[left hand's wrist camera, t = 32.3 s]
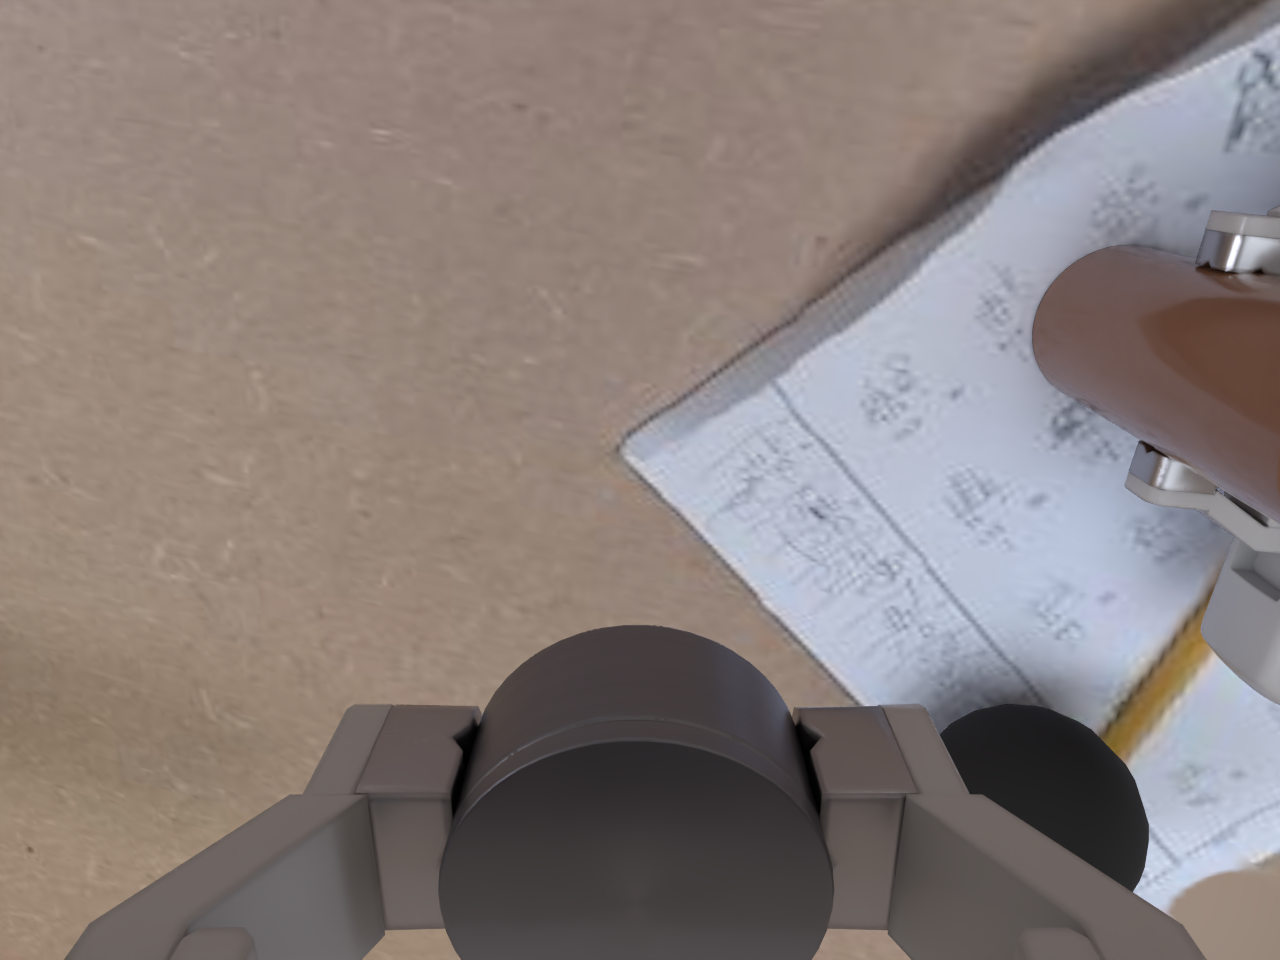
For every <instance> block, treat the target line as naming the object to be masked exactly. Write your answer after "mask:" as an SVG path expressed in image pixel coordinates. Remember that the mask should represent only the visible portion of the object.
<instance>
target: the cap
mask: <svg viewBox="0 0 1280 960" xmlns="http://www.w3.org/2000/svg"><path fill="white" fill-rule="evenodd" d="M438 894H439V903H440V911H441V915H442V918H443V922H444V925H445V929H446V932H447V934H448V936H449V938H450V941H451V943H452V945H453V947H454V949H455V951H456V952H457V954H458V955H459V957H460V958H461V960H812V958H813V957H814V955H815V953H816V952H817V950H818V949H819V947H820V944H821V942H822V940H823V938H824V935H825V933H826V931H827V928H828V924H829V920H830V916H831V913H832V909H833V898H834V879H833V868H832V864H831V860H830V856H829V852H828V849H827V845H826V841H825V837H824V833H823V830H822V826H821V822H820V818H819V814H818V810H817V807H816V803H815V799H814V795H813V791H812V787H811V784H810V780H809V776H808V772H807V768H806V765H805V761H804V757H803V753H802V749H801V746H800V742H799V738H798V734H797V730H796V726H795V723H794V721H793V718H792V716H791V714H790V712H789V709H788V707H787V705H786V704H785V702H784V701H783V699H782V697H781V696H780V694H779V693H778V691H777V690H776V689H775V687H774V686H773V685H772V684H771V683H770V682H769V680H768V679H767V678H766V677H765V676H764V675H763V674H762V673H761V672H760V671H759V670H758V669H756V668H755V667H754V666H753V665H752V664H751V663H750V662H748V661H747V660H745V659H744V658H742V657H741V656H739V655H738V654H736V653H735V652H733V651H732V650H730V649H729V648H727V647H725V646H723V645H721V644H719V643H717V642H715V641H713V640H710V639H708V638H705V637H702V636H699V635H696V634H694V633H691V632H686V631H682V630H678V629H673V628H669V627H662V626H655V625H654V626H651V625H622V626H614V627H605V628H600V629H594V630H591V631H587V632H583V633H580V634H577V635H574V636H571V637H569V638H566V639H563V640H561V641H559V642H557V643H555V644H553V645H551V646H549V647H547V648H545V649H543V650H541V651H540V652H538V653H537V654H535V655H534V656H533V657H531V658H529V659H528V660H527V661H525V662H524V663H523V664H521V665H520V666H519V667H518V668H517V669H516V670H515V671H514V672H513V673H512V674H511V675H509V676H508V677H507V678H506V680H505V681H504V682H503V683H502V685H501V686H500V687H499V688H498V689H497V691H496V692H495V693H494V695H493V697H492V698H491V700H490V702H489V703H488V705H487V707H486V708H485V710H484V713H483V715H482V718H481V720H480V723H479V725H478V729H477V732H476V736H475V740H474V743H473V747H472V750H471V754H470V758H469V761H468V765H467V769H466V772H465V776H464V780H463V783H462V787H461V791H460V794H459V798H458V802H457V805H456V809H455V813H454V816H453V820H452V824H451V828H450V832H449V835H448V838H447V842H446V846H445V849H444V853H443V857H442V862H441V866H440V870H439V885H438Z"/></svg>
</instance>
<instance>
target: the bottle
mask: <svg viewBox="0 0 1280 960" xmlns="http://www.w3.org/2000/svg"><path fill="white" fill-rule="evenodd" d="M1195 262H1196V258H1192V257H1187V256H1183V255H1178V254H1174V253H1170V252H1165V251H1161V250H1156V249H1152V248H1147V247H1143V246H1136V245H1118V246H1112V247H1107V248H1104V249H1100V250H1097V251H1095V252H1093V253H1090V254H1088V255H1086V256H1085V257H1083V258H1081V259H1079V260H1078V261H1076V262H1075V263H1073V264H1072V265H1071V266H1069V267H1068V268H1067V269H1066V270H1065V271H1064V272H1063V273H1062V274H1060V275H1059V277H1058V278H1057V279H1056V280H1055V281H1054V282H1053V283H1052V285H1051V286H1050V288H1049V289H1048V291H1047V292H1046V293H1045V295H1044V297H1043V299H1042V301H1041V303H1040V305H1039V308H1038V311H1037V313H1036V317H1035V321H1034V327H1033V349H1034V354H1035V358H1036V361H1037V364H1038V366H1039V368H1040V370H1041V372H1042V373H1043V375H1044V376H1045V378H1046V379H1047V380H1048V381H1049V382H1050V383H1051V384H1052V385H1053V386H1054V387H1055V388H1057V389H1058V390H1059V391H1061V392H1062V393H1064V394H1066V395H1067V396H1069V397H1071V398H1072V399H1074V400H1076V401H1077V402H1079V403H1080V404H1082V405H1084V406H1085V407H1087V408H1089V409H1090V410H1092V411H1094V412H1095V413H1097V414H1099V415H1100V416H1102V417H1103V418H1105V419H1107V420H1108V421H1110V422H1112V423H1113V424H1115V425H1117V426H1118V427H1120V428H1122V429H1123V430H1125V431H1127V432H1128V433H1130V434H1131V435H1133V436H1135V437H1136V438H1138V439H1140V440H1141V441H1143V442H1145V443H1146V444H1148V445H1150V446H1151V447H1153V448H1155V449H1156V450H1158V451H1159V452H1161V453H1163V454H1164V455H1166V456H1168V457H1169V458H1171V459H1173V460H1174V461H1176V462H1178V463H1179V464H1181V465H1183V466H1184V467H1186V468H1187V469H1189V470H1191V471H1192V472H1194V473H1196V474H1197V475H1199V476H1201V477H1202V478H1204V479H1206V480H1207V481H1209V482H1211V483H1212V484H1214V485H1215V486H1217V487H1219V488H1220V489H1222V490H1224V491H1225V492H1227V493H1229V494H1230V495H1232V496H1234V497H1235V498H1237V499H1239V500H1240V501H1242V502H1243V503H1245V504H1247V505H1248V506H1250V507H1252V508H1253V509H1255V510H1257V511H1258V512H1260V513H1262V514H1263V515H1265V516H1267V517H1268V518H1270V519H1271V520H1273V521H1275V522H1276V523H1278V524H1280V277H1276V276H1272V275H1267V274H1263V273H1258V272H1253V273H1237V272H1230V271H1223V270H1218V269H1213V268H1211V267H1208V266H1201V265H1197V264H1195Z"/></svg>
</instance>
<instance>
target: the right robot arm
mask: <svg viewBox="0 0 1280 960" xmlns="http://www.w3.org/2000/svg"><path fill="white" fill-rule="evenodd" d="M1195 264H1197V265H1201V266H1208V267H1211V268H1213V269H1218V270H1223V271H1230V272H1237V273H1253V272H1258V273H1263V274H1267V275H1272V276H1276V277H1280V206H1278V207H1276V208H1274V209H1272V210H1270V211H1268V213H1267V216H1264V215H1254V214H1245V213H1235V212H1225V211H1211V214H1210V217H1209V220H1208V223H1207V226H1206V230H1205V233H1204V236H1203V239H1202V243H1201V246H1200V249H1199V252H1198V255H1197V258H1196V262H1195ZM1124 486H1125V488H1127V489H1128V490H1130V491H1131V492H1132V493H1134V494H1135V495H1137V496H1138V497H1139V498H1141V499H1142V500H1144V501H1147V502H1149V503H1152V504H1156V505H1160V506H1166V507H1177V508H1188V509H1197V510H1198V511H1199V512H1200V513H1202V514H1203V515H1204V516H1206V517H1207V518H1208V519H1209V520H1211V521H1212V522H1213V523H1215V524H1216V525H1218V526H1219V527H1221V528H1222V529H1224V530H1225V531H1227V532H1228V533H1230V534H1231V535H1232V536H1234V538H1233V540H1232V543H1231V546H1230V548H1229V551H1228V554H1227V556H1226V559H1225V562H1224V565H1223V567H1222V570H1221V573H1220V575H1219V578H1218V581H1217V583H1216V586H1215V589H1214V592H1213V594H1212V597H1211V600H1210V602H1209V605H1208V607H1207V610H1206V613H1205V615H1204V618H1203V621H1202V624H1201V633H1202V636H1203V638H1204V639H1205V641H1206V642H1207V644H1208V645H1209V646H1210V647H1211V649H1212V650H1213V651H1214V652H1215V653H1216V655H1217V656H1218V657H1219V658H1220V659H1221V660H1222V661H1223V662H1224V663H1225V664H1226V665H1227V666H1228V667H1229V668H1230V669H1231V670H1232V671H1233V672H1234V673H1235V674H1236V675H1237V676H1238V677H1239V678H1240V679H1241V680H1243V681H1244V682H1245V683H1246V684H1247V685H1249V686H1250V687H1251V688H1252V689H1253V690H1255V691H1256V692H1258V693H1259V694H1261V695H1262V696H1264V697H1265V698H1267V699H1269V700H1270V701H1272V702H1274V703H1276V704H1279V705H1280V524H1278V523H1276V522H1275V521H1273V520H1271V519H1270V518H1268V517H1267V516H1265V515H1263V514H1262V513H1260V512H1258V511H1257V510H1255V509H1253V508H1252V507H1250V506H1248V505H1247V504H1245V503H1243V502H1242V501H1240V500H1239V499H1237V498H1235V497H1234V496H1232V495H1230V494H1229V493H1227V492H1225V493H1224V495H1223V494H1221V493H1220V492H1219V491H1217V490H1216V489H1217V486H1215V485H1214V484H1212V483H1211V482H1209V481H1207V480H1206V479H1204V478H1202V477H1201V476H1199V475H1197V474H1196V473H1194V472H1192V471H1191V470H1189V469H1187V468H1186V467H1184V466H1183V465H1181V464H1179V463H1178V462H1176V461H1174V460H1173V459H1171V458H1169V457H1168V456H1166V455H1164V454H1163V453H1161V452H1159V451H1158V450H1156V449H1155V448H1153V447H1151V446H1150V445H1148V444H1146V443H1145V442H1143V441H1139V442H1138V445H1137V448H1136V451H1135V454H1134V457H1133V460H1132V463H1131V466H1130V469H1129V473H1128V476H1127V479H1126V482H1125V485H1124Z"/></svg>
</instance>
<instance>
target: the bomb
mask: <svg viewBox="0 0 1280 960" xmlns="http://www.w3.org/2000/svg"><path fill="white" fill-rule="evenodd" d="M940 737H941V739H942V741H943V743H944V745H945V747H946V749H947V751H948V753H949V755H950V757H951V758H952V760H953V762H954V764H955V766H956V768H957V770H958V772H959V774H960V776H961V778H962V780H963V782H964V784H965V786H966V788H967V790H968V792H969V794H972V795H984V796H985V797H987V798H989V799H990V800H992V801H993V802H995V803H996V804H998V805H999V806H1001V807H1002V808H1004V809H1005V810H1007V811H1008V812H1010V813H1012V814H1013V815H1015V816H1016V817H1018V818H1019V819H1021V820H1022V821H1024V822H1025V823H1027V824H1028V825H1030V826H1032V827H1033V828H1035V829H1036V830H1038V831H1039V832H1041V833H1042V834H1044V835H1045V836H1047V837H1048V838H1050V839H1051V840H1053V841H1055V842H1056V843H1058V844H1059V845H1061V846H1062V847H1064V848H1065V849H1067V850H1068V851H1070V852H1071V853H1073V854H1075V855H1076V856H1078V857H1079V858H1081V859H1082V860H1084V861H1085V862H1087V863H1088V864H1090V865H1091V866H1093V867H1094V868H1096V869H1098V870H1099V871H1101V872H1102V873H1104V874H1105V875H1107V876H1108V877H1110V878H1111V879H1113V880H1114V881H1116V882H1118V883H1119V884H1121V885H1122V886H1124V887H1125V888H1127V889H1128V890H1130V891H1131V892H1133V891H1134V889H1135V887H1136V886H1137V884H1138V882H1139V881H1140V878H1141V876H1142V873H1143V870H1144V868H1145V862H1146V855H1147V849H1148V842H1149V824H1148V820H1147V817H1146V813H1145V810H1144V807H1143V804H1142V800H1141V797H1140V794H1139V791H1138V788H1137V785H1136V782H1135V779H1134V778H1133V776H1132V774H1131V773H1130V771H1129V769H1128V768H1127V766H1126V764H1125V763H1124V762H1123V761H1122V760H1121V759H1120V758H1119V757H1118V756H1117V755H1116V754H1115V753H1114V752H1113V751H1112V750H1111V749H1110V748H1109V747H1108V746H1107V745H1106V744H1105V743H1104V742H1103V741H1102V740H1101V739H1100V738H1099V737H1098V736H1097V735H1096V734H1095V733H1094V732H1093V731H1092V730H1091V729H1090V728H1088V727H1086V726H1085V725H1083V724H1081V723H1079V722H1078V721H1076V720H1073V719H1071V718H1069V717H1066V716H1064V715H1061V714H1059V713H1057V712H1054V711H1052V710H1050V709H1046V708H1042V707H1038V706H1029V705H1015V704H1004V705H999V706H995V707H990V708H986V709H981V710H976V711H973V712H972V713H970V714H968V715H966V716H964V717H962V718H960V719H959V720H957V721H955V722H953V723H951V724H950V725H949V726H948V727H947V728H946V729H945V730H944V731H943V732H942V733H941V734H940Z"/></svg>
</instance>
